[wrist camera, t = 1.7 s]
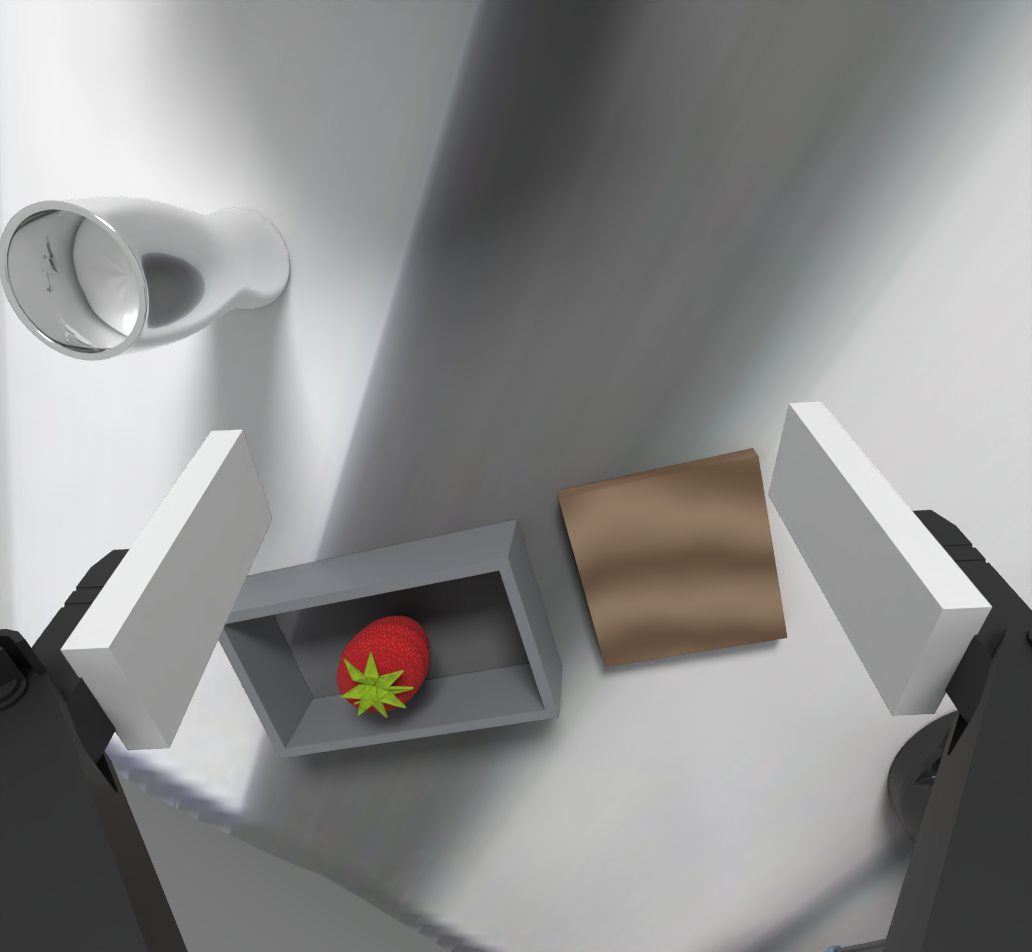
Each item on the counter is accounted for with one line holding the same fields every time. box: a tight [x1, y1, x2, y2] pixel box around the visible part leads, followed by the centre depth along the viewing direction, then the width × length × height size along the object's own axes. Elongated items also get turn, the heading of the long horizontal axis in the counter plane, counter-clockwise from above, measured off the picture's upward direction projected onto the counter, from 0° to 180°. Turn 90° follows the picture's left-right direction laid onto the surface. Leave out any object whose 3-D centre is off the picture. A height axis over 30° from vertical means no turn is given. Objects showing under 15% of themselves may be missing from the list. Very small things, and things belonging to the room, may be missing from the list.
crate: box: [218, 519, 562, 758], centre depth 48 cm, size 13×22×6 cm, turn 106°
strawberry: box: [337, 615, 430, 718], centre depth 46 cm, size 6×8×10 cm
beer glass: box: [0, 197, 290, 360], centre depth 35 cm, size 7×7×15 cm
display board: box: [559, 448, 787, 667], centre depth 46 cm, size 14×13×2 cm
